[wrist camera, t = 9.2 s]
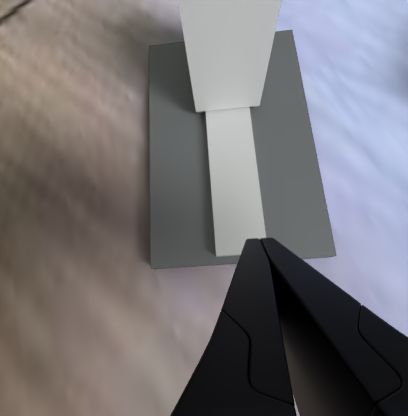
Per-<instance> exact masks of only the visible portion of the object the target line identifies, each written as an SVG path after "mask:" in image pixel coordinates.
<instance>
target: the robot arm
mask: <svg viewBox="0 0 408 416" xmlns="http://www.w3.org/2000/svg"><path fill="white" fill-rule="evenodd" d="M292 392H293V393H292ZM293 395H294V398H295V402H296V405H297V408H298V411H299V414H300V416H408V337H407V336H405V335H404V334H402V333H401V332H399V331H398V330H396V329H395V328H394V327H392V326H391V325H389V324H388V323H387V322H385V321H384V320H383V319H381V318H380V317H378V316H377V315H376V314H374V313H373V312H372V311H370V310H369V309H368V308H366V307H365V306H363V305H362V306H361V304H360V303H359V302H358V301H357V300H355V299H354V298H353V297H351V296H350V295H349V294H348V293H346V292H345V291H344V290H342V289H341V288H340V287H338V286H337V285H336V284H334V283H333V282H332V281H330V280H329V279H328V278H326V277H325V276H324V275H322V274H321V273H320V272H318V271H317V270H316V269H314V268H313V267H312V266H310V265H309V264H308V263H306V262H305V261H304V260H302V259H301V258H300V257H298V256H297V255H296V254H294V253H293V252H292V251H290V250H289V249H288V248H286V247H285V246H284V245H282V244H281V243H280V242H278V241H277V240H276V239H274V238H272V237H269V238H261V239H258V238H251V239H246V241H245V244H244V247H243V249H242V252H241V255H240V258H239V261H238V264H237V267H236V269H235V272H234V275H233V278H232V281H231V284H230V287H229V289H228V292H227V295H226V298H225V301H224V304H223V307H222V309H221V312H220V315H219V318H218V320H217V323H216V326H215V328H214V331H213V333H212V336H211V338H210V341H209V343H208V345H207V347H206V349H205V351H204V353H203V355H202V357H201V359H200V361H199V363H198V365H197V367H196V369H195V370H194V372H193V374H192V376H191V378H190V380H189V382H188V384H187V386H186V387H185V389H184V391H183V393H182V395H181V397H180V399H179V401H178V403H177V404H176V406H175V408H174V410H173V412H172V414H171V415H170V416H296V410H295V408H294V406H295V404H294V398H293Z"/></svg>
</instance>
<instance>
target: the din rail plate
mask: <svg viewBox="0 0 408 416" xmlns="http://www.w3.org/2000/svg"><path fill="white" fill-rule="evenodd" d="M149 120H150V259H151V269H163V268H178V267H193V266H208V265H222V264H237V263H238V261H239V258H240V255H241V252H242V249H243V247H244V244H245V241H246V239H251V238H258V239H261V238H269V237H272V238H274V239H276V240H277V241H278V242H280V243H281V244H282V245H284V246H285V247H286V248H288V249H289V250H290V251H292V252H293V253H294V254H296V255H297V256H298V257H300V258H301V259H311V258H326V257H333V256H336V251H335V246H334V240H333V235H332V230H331V225H330V220H329V215H328V210H327V205H326V200H325V195H324V190H323V184H322V179H321V174H320V169H319V164H318V159H317V154H316V149H315V144H314V139H313V134H312V128H311V123H310V118H309V113H308V108H307V103H306V98H305V93H304V88H303V83H302V78H301V72H300V67H299V62H298V57H297V52H296V47H295V42H294V37H293V32H292V30H286V31H277V32H275V35H274V40H273V45H272V49H271V54H270V59H269V64H268V68H267V73H266V78H265V83H264V87H263V92H262V97H261V102H260V106H258V107H257V108H252V107H242V108H232V109H222V110H211V111H202V113H197V112H196V109H195V103H194V97H193V91H192V84H191V78H190V72H189V66H188V60H187V54H186V47H185V42H179V43H170V44H161V45H152V46H149Z"/></svg>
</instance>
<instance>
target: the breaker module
mask: <svg viewBox="0 0 408 416" xmlns="http://www.w3.org/2000/svg"><path fill="white" fill-rule="evenodd" d="M281 2H282V0H178V4H179V10H180V16H181V23H182V29H183V35H184V41H185V47H186V54H187V60H188V66H189V72H190V78H191V84H192V91H193V97H194V103H195V109H196V112H197V113H202V111H211V110H222V109H232V108H242V107H252V108H257V107H258V106H260V102H261V97H262V92H263V87H264V83H265V78H266V73H267V68H268V64H269V59H270V54H271V49H272V45H273V40H274V35H275V30H276V26H277V21H278V16H279V11H280V7H281Z"/></svg>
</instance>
